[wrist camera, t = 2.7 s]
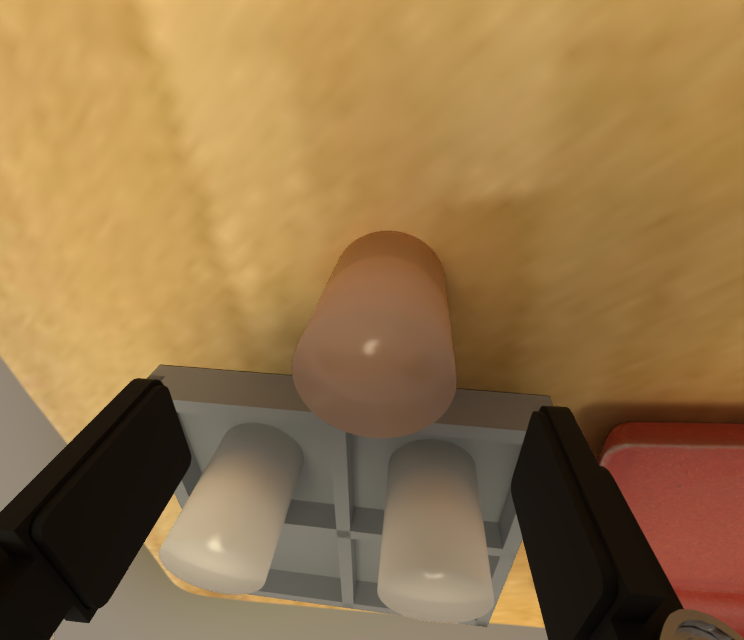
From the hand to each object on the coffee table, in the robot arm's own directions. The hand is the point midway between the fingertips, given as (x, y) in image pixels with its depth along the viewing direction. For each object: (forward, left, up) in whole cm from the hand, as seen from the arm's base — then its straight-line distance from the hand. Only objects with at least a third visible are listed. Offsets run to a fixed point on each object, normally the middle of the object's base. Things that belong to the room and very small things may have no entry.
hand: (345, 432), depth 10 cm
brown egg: (-1, +1, -7) cm, 7 cm away
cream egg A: (+10, -6, -6) cm, 13 cm away
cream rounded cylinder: (+10, +3, -6) cm, 12 cm away
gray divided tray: (+14, -1, -7) cm, 16 cm away
